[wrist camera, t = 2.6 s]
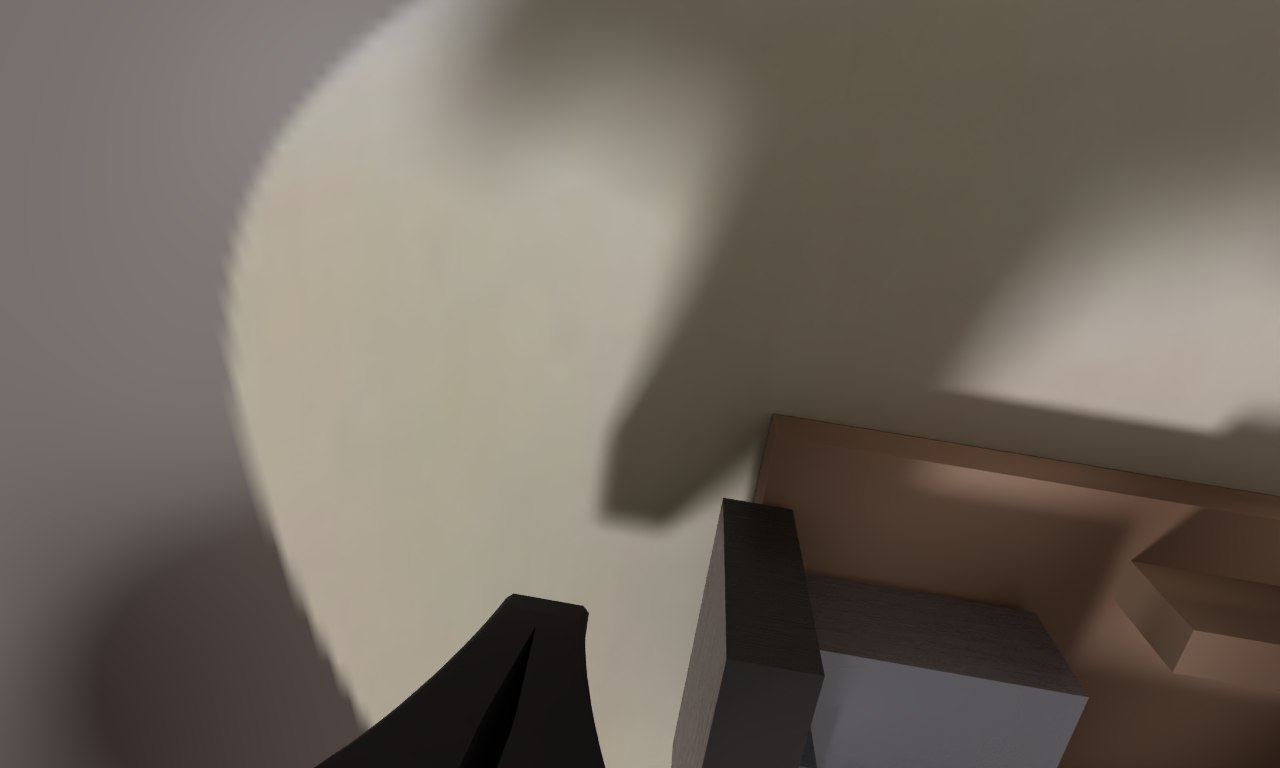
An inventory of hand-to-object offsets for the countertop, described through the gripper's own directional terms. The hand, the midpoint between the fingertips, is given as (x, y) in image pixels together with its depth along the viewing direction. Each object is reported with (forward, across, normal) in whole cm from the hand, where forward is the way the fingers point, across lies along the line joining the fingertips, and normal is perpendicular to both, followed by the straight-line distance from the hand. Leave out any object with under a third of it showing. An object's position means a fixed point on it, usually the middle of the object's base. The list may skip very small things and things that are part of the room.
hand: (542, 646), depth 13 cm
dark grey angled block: (+1, -5, 0) cm, 6 cm away
